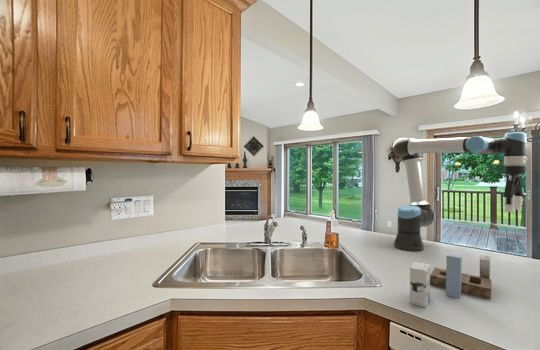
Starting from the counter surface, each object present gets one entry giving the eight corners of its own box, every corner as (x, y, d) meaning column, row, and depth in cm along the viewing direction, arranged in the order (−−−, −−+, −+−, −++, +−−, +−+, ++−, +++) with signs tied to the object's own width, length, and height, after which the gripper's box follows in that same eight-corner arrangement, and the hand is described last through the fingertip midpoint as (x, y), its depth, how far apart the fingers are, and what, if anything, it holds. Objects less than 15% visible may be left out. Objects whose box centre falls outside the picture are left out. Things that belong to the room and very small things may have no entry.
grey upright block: (479, 284, 101) (479, 259, 101) (480, 279, 106) (480, 255, 106) (489, 287, 99) (490, 260, 99) (489, 281, 104) (490, 256, 104)
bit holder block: (429, 284, 101) (430, 275, 101) (434, 275, 110) (435, 267, 110) (490, 299, 90) (490, 289, 90) (491, 288, 98) (491, 279, 98)
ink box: (414, 294, 93) (414, 260, 93) (430, 298, 90) (430, 264, 90) (408, 303, 87) (409, 267, 86) (425, 308, 83) (426, 271, 83)
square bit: (445, 294, 93) (446, 255, 92) (447, 291, 96) (448, 252, 95) (459, 298, 90) (460, 257, 90) (461, 294, 93) (461, 255, 93)
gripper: (518, 164, 113) (516, 213, 114) (532, 166, 127) (530, 209, 128) (495, 165, 119) (494, 211, 120) (511, 166, 134) (510, 207, 134)
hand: (513, 210), depth 124 cm, fingers open, 13 cm apart
